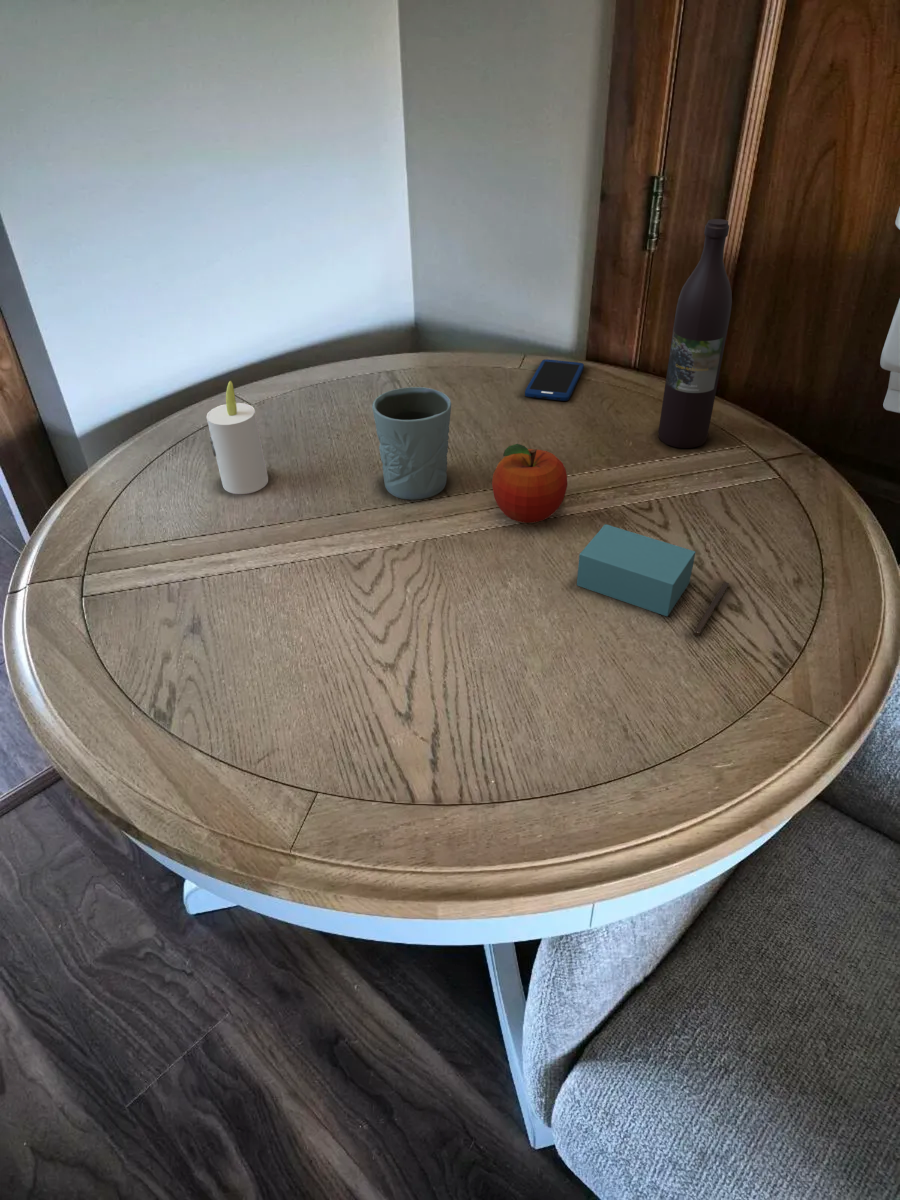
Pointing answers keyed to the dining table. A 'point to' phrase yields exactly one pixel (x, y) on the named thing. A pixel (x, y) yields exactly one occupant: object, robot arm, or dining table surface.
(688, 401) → the wine bottle
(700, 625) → the stop strip
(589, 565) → the teal labeled box
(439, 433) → the blue grey cup
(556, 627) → the dining table surface
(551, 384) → the cell phone
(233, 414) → the candle
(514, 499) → the fruit
